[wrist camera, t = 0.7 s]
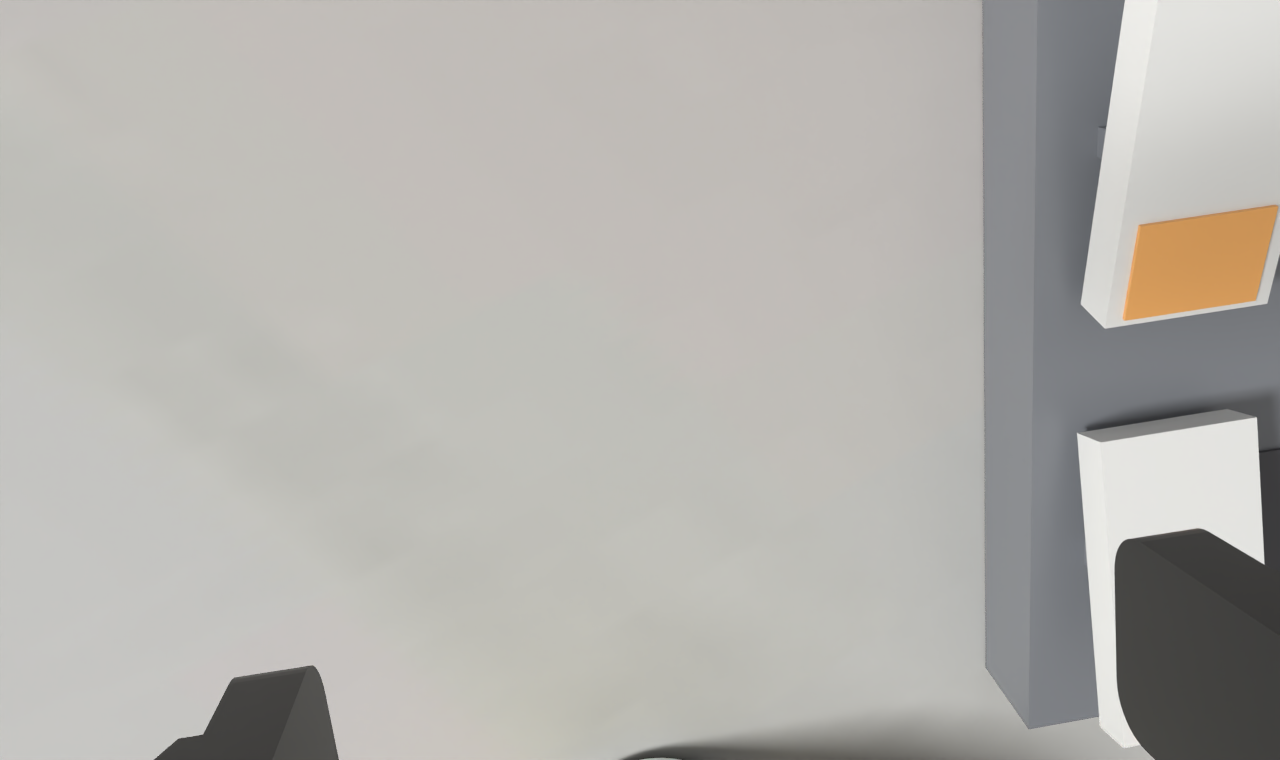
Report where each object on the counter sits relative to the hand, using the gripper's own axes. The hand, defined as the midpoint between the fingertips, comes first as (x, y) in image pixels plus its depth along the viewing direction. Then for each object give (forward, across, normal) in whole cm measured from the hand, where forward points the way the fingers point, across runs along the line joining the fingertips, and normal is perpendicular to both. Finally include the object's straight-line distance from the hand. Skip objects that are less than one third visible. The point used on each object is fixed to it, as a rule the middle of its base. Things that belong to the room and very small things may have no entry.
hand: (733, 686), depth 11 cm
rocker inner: (+14, -14, -3) cm, 20 cm away
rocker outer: (+15, -14, +8) cm, 22 cm away
